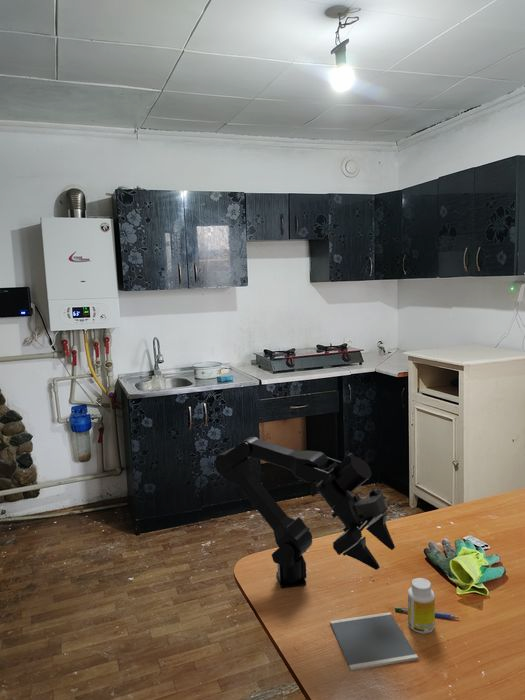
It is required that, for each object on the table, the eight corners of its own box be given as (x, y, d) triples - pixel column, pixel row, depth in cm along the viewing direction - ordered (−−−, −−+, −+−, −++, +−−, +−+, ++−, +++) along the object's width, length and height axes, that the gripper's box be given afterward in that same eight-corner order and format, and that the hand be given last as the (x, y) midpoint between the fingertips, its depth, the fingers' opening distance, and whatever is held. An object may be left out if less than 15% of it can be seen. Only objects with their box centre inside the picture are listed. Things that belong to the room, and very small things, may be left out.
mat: (350, 670, 102) (350, 668, 102) (330, 623, 116) (330, 621, 116) (417, 659, 104) (418, 657, 104) (390, 614, 118) (390, 612, 118)
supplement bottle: (440, 629, 112) (440, 586, 111) (420, 638, 110) (420, 594, 108) (421, 614, 117) (422, 572, 116) (402, 622, 115) (402, 580, 113)
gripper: (345, 498, 109) (396, 563, 105) (379, 468, 124) (425, 523, 120) (313, 524, 115) (359, 586, 110) (349, 492, 130) (391, 545, 126)
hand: (386, 558), depth 116 cm, fingers open, 9 cm apart
